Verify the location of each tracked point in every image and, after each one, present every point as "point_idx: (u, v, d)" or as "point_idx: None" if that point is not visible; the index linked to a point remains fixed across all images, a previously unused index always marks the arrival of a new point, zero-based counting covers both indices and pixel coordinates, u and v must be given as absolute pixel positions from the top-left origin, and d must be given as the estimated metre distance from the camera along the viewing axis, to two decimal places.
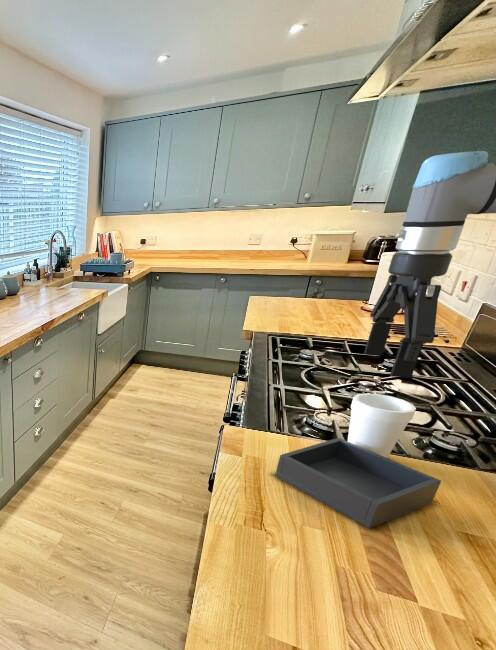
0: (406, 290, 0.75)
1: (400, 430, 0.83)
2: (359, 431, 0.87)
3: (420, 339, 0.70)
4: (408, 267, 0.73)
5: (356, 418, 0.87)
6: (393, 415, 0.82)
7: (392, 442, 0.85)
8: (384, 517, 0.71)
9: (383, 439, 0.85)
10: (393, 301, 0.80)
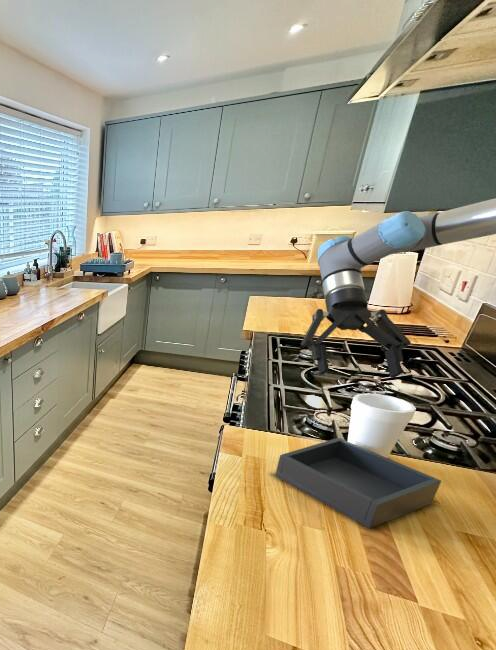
0: None
1: (400, 430, 0.83)
2: (359, 431, 0.87)
3: (302, 342, 1.00)
4: None
5: (356, 418, 0.87)
6: (393, 415, 0.82)
7: (392, 442, 0.85)
8: (384, 517, 0.71)
9: (383, 439, 0.85)
10: (364, 330, 0.98)
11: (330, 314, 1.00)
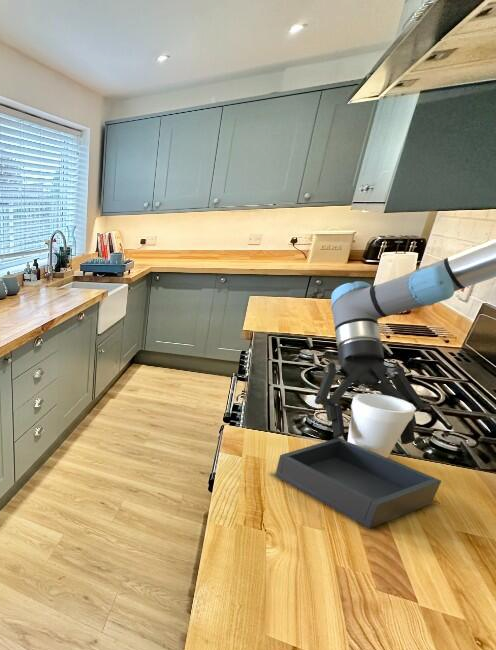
0: None
1: (400, 430, 0.83)
2: (359, 431, 0.87)
3: (316, 400, 0.92)
4: (339, 358, 0.96)
5: (356, 418, 0.87)
6: (393, 415, 0.82)
7: (392, 442, 0.85)
8: (384, 517, 0.71)
9: (383, 439, 0.85)
10: (377, 387, 0.91)
11: (343, 367, 0.92)
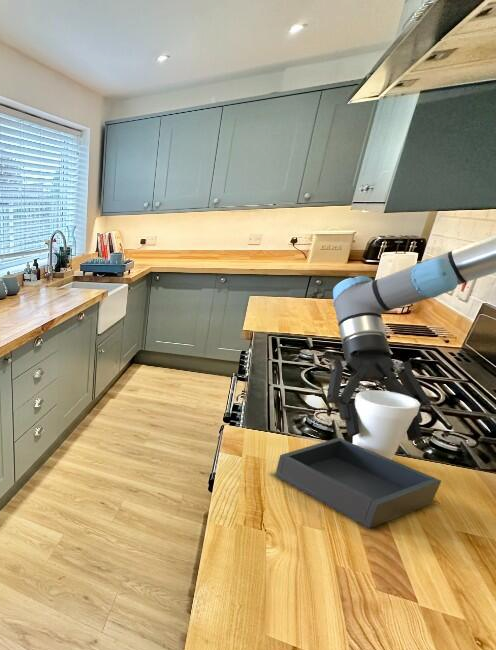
0: None
1: (405, 426, 0.82)
2: (363, 428, 0.86)
3: (328, 399, 0.91)
4: None
5: (360, 415, 0.86)
6: (396, 411, 0.81)
7: (398, 439, 0.83)
8: (384, 517, 0.71)
9: (388, 436, 0.83)
10: (383, 382, 0.90)
11: (348, 363, 0.91)
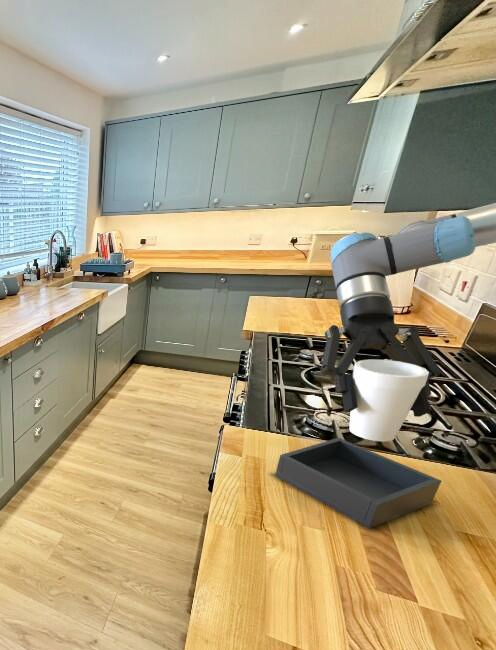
0: None
1: (411, 399, 0.71)
2: (362, 402, 0.75)
3: (322, 370, 0.79)
4: (342, 321, 0.84)
5: (358, 387, 0.75)
6: (401, 381, 0.69)
7: (402, 414, 0.72)
8: (384, 517, 0.71)
9: (391, 410, 0.72)
10: (386, 351, 0.78)
11: (347, 329, 0.80)
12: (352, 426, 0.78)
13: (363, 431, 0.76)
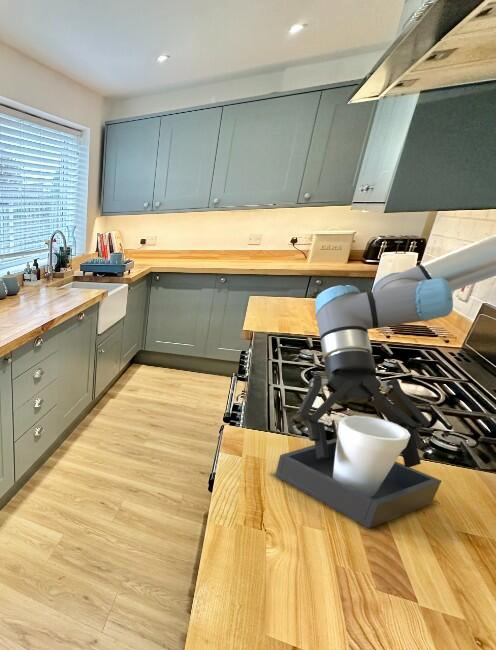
0: None
1: (392, 460, 0.72)
2: (345, 459, 0.76)
3: (296, 417, 0.82)
4: None
5: (342, 444, 0.76)
6: (383, 443, 0.71)
7: (383, 473, 0.74)
8: (384, 517, 0.71)
9: (372, 469, 0.74)
10: (372, 403, 0.80)
11: (330, 382, 0.82)
12: None
13: None
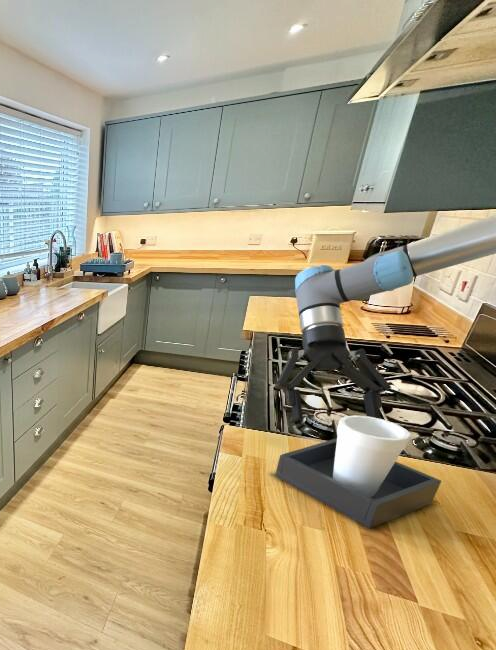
0: None
1: (392, 460, 0.72)
2: (345, 459, 0.76)
3: (276, 385, 0.93)
4: None
5: (342, 444, 0.76)
6: (383, 443, 0.71)
7: (383, 473, 0.74)
8: (384, 517, 0.71)
9: (372, 469, 0.74)
10: (342, 371, 0.91)
11: (306, 354, 0.93)
12: (335, 479, 0.80)
13: None
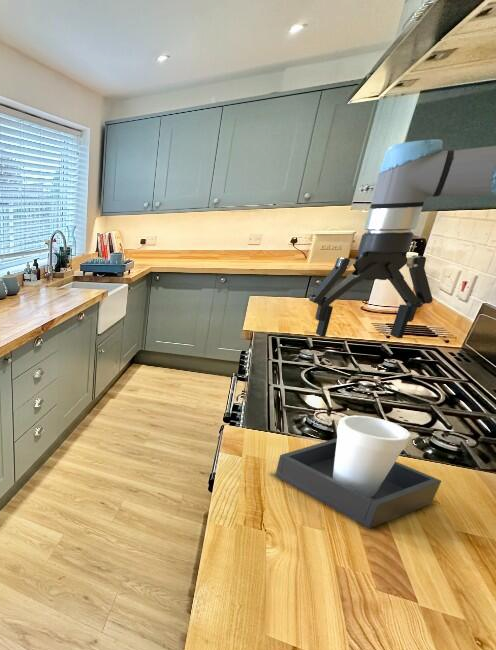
0: None
1: (392, 460, 0.72)
2: (345, 459, 0.76)
3: (310, 298, 0.90)
4: None
5: (342, 444, 0.76)
6: (383, 443, 0.71)
7: (383, 473, 0.74)
8: (384, 517, 0.71)
9: (372, 469, 0.74)
10: (389, 279, 0.85)
11: (357, 264, 0.84)
12: (335, 479, 0.80)
13: None
